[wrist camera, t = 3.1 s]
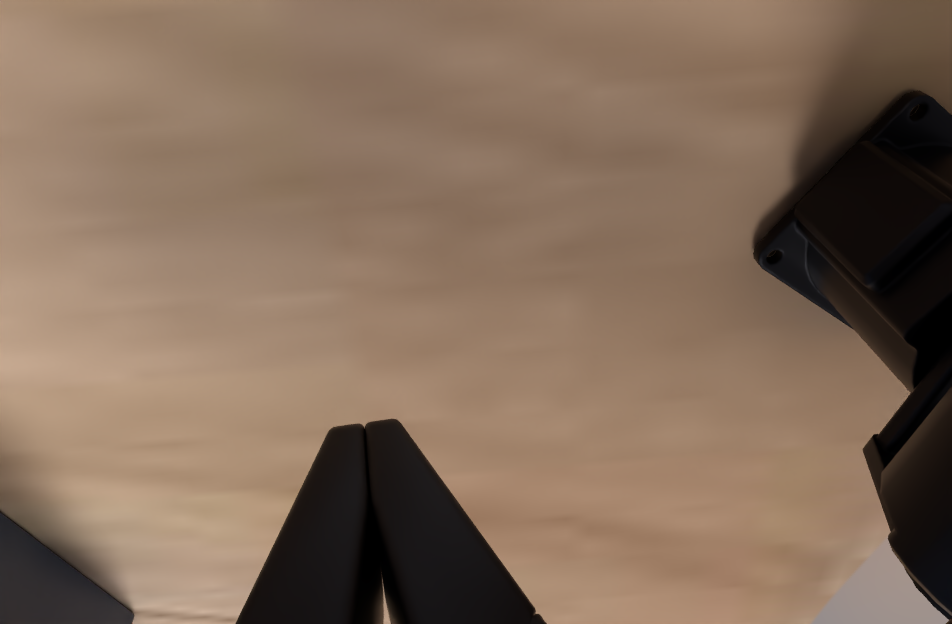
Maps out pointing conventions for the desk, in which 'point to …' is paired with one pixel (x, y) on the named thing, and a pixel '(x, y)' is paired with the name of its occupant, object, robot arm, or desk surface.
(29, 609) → the box
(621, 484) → the desk surface
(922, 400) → the robot arm
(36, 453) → the desk surface
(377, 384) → the desk surface
